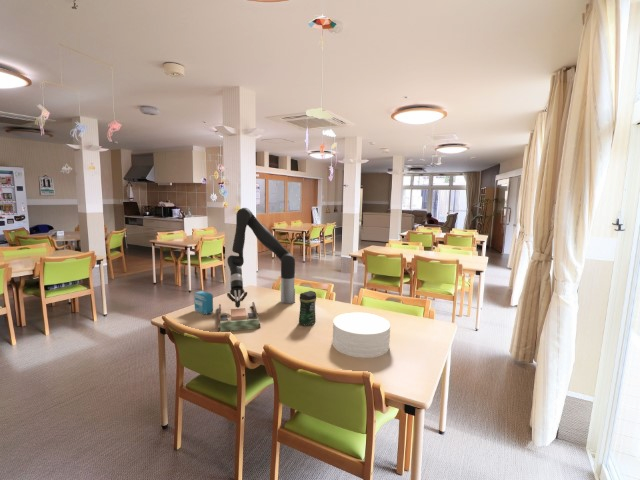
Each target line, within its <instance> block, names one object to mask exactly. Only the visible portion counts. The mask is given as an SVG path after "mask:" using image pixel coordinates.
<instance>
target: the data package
mask: <svg viewBox="0 0 640 480" xmlns="http://www.w3.org/2000/svg"><path fill="white" fill-rule="evenodd" d="M193 296H194V297H193V299H194V311H195V312H197V313H201V314H204V315H209V314H211V313H213V311H214V295H213V293H210V292H207V291H203V290H199V291H196V292H194V295H193Z"/></svg>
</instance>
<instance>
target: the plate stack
mask: <svg viewBox="0 0 640 480" xmlns="http://www.w3.org/2000/svg"><path fill="white" fill-rule="evenodd" d="M332 321H333V322H332V346H333V348H334V349H335V350H336V351H338V352H339V353H341V354H343V355H346V356H350V357H353V358H363V359H369V358H370V359H371V358H377V357H380V356H383V355H385V354H387V353H388V352H389V350H390V341H391V340H390V338H391V323H390V321H389V320H388V319H386V318H385V317H382V316H379V315H377V314H373V313H369V312H359V311H358V312H346V313H341V314H339V315H336V317H334V319H333V320H332Z"/></svg>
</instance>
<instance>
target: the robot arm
mask: <svg viewBox="0 0 640 480" xmlns="http://www.w3.org/2000/svg"><path fill="white" fill-rule="evenodd" d="M235 215H236V216H235V217H236V226H235V233H234V237H233V243H232V244H233V245H232V252H233V253H236V254H237V255H232V254H231V255H229V256H228V257H227V265H228V268H229V270H230V271H229V272H230V290H229V291H230V292H227V293H226V296H227V298H228V299H229V300H230V301H231V302H234V303H235V304H234V305H235V308H236V309H240V308H241V302H243V301H244V300H245V298H246V297H247V296H248V291H245V290H244V280H243V279H244V278H243V273H242V268H241V267H242V266H243V265H244V263H245V262H244V248H245V243H246V242H245V240H246V239H245V238H246V230H247V226H248V227H249V228H250V229H251V231H252V232H253V234H254V235H255V237H256V239H257V240H258V241H259V242H260V243H261V244H262V245H263V246H264V247H265V248H266V249H267V250H269V251H270V252H272V253H273V254H274V255H275V256H276V257H277V259H279V261H280V302H281V303H282V304H293V303H296V288H295V276H296V275H295V273H296V260H295V256H294V255H293V254H292V253H290V251H288V250H287V249H286V248H285V247H284V246H283V245H282V244H281V243H280V241H279V239H277V237H275V236H274V235H273V233H272V232H271V231H270V230H269V229H268V228H267V227H266V226H264V225H263V224H262V223H261V222H260V221H259V220H258V218H257V217H256V216H255V215H254V214H253V212H252V210H250V209H249V208H247V207H242V208H239V209H238V210H237V212H236V213H235Z"/></svg>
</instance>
